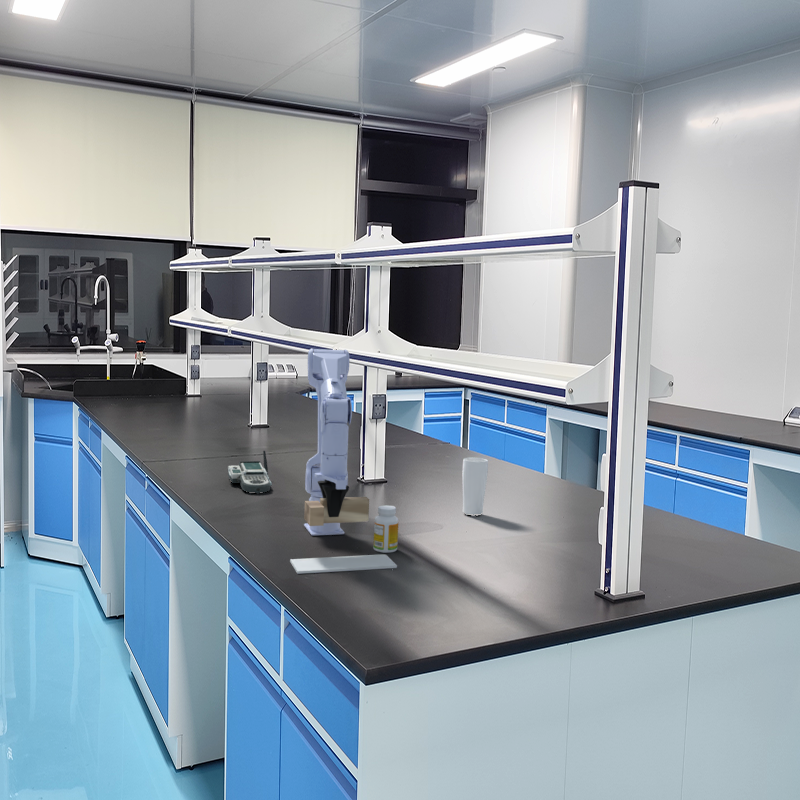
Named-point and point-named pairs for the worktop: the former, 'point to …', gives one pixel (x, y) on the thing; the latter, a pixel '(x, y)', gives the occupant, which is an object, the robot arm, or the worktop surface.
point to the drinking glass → (474, 484)
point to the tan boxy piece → (350, 511)
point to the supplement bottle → (386, 530)
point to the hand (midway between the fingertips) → (332, 514)
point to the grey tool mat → (342, 563)
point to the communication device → (251, 475)
